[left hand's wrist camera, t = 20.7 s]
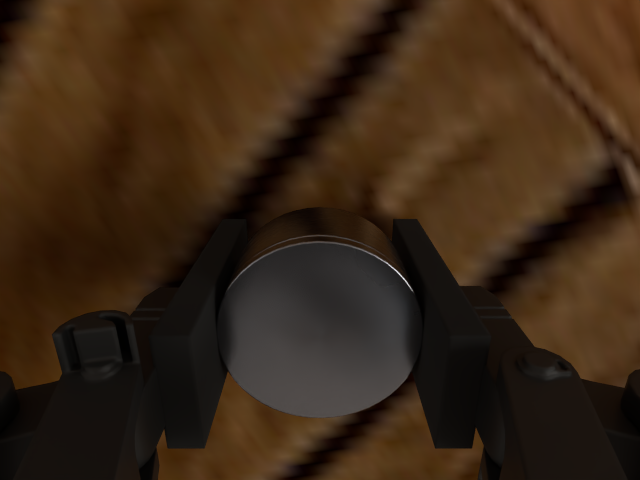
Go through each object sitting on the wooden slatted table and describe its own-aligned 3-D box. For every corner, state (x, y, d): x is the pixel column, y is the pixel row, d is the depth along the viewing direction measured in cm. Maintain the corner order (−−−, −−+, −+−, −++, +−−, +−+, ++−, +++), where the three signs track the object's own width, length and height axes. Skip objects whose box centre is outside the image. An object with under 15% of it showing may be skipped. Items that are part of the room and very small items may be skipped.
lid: (200, 260, 12) (172, 305, 10) (353, 173, 11) (361, 200, 9) (292, 381, 13) (286, 445, 11) (433, 313, 12) (458, 368, 10)
